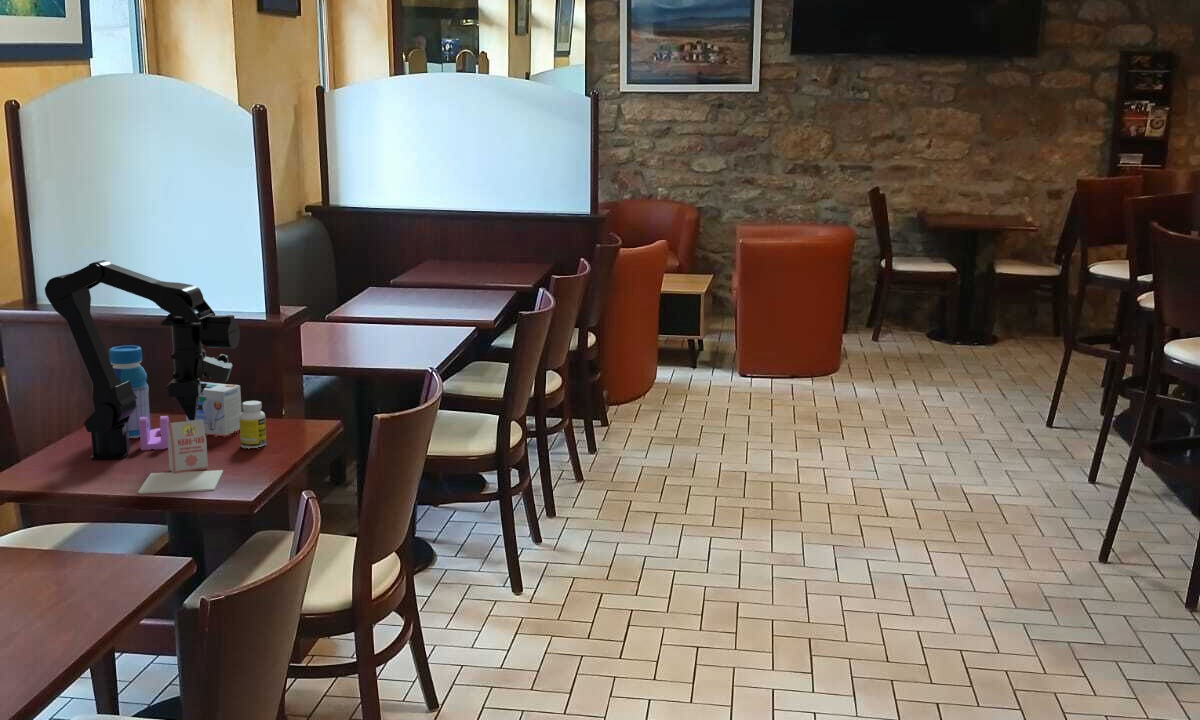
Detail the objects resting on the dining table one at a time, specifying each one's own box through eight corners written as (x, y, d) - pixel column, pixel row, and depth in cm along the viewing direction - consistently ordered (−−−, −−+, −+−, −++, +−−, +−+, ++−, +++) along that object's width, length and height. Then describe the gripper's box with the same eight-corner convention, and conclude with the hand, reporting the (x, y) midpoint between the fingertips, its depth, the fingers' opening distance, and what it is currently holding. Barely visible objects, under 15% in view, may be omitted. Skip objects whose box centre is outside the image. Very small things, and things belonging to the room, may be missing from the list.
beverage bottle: (143, 440, 255) (136, 352, 250) (105, 439, 255) (97, 351, 250) (157, 429, 263) (151, 344, 259) (120, 429, 263) (114, 344, 259)
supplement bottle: (262, 449, 248) (260, 405, 246) (237, 449, 248) (235, 405, 246) (269, 442, 254) (267, 399, 252) (245, 442, 254) (242, 399, 252)
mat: (138, 493, 219) (137, 492, 219) (150, 474, 231) (150, 473, 231) (214, 490, 222) (214, 488, 221) (223, 471, 233) (223, 470, 233)
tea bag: (169, 469, 234) (166, 421, 232) (203, 465, 237) (201, 417, 236) (173, 473, 230) (170, 424, 229) (207, 468, 234) (205, 420, 232)
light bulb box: (185, 433, 260) (182, 387, 258) (204, 426, 267) (201, 381, 264) (226, 438, 257) (223, 391, 255) (244, 430, 264) (241, 384, 261)
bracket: (168, 449, 249) (166, 418, 247) (141, 450, 247) (138, 419, 246) (176, 433, 261) (173, 403, 259) (150, 434, 260) (147, 404, 258)
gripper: (221, 355, 229) (225, 430, 232) (234, 337, 247) (237, 407, 250) (163, 356, 227) (168, 432, 230) (180, 338, 245) (184, 409, 248)
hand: (192, 419), depth 240 cm, fingers closed
